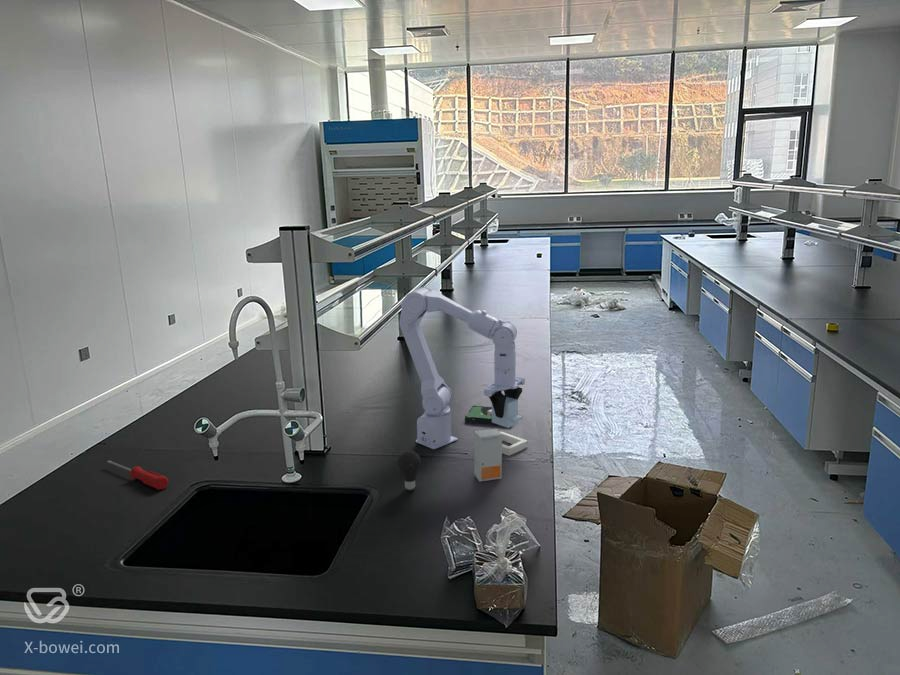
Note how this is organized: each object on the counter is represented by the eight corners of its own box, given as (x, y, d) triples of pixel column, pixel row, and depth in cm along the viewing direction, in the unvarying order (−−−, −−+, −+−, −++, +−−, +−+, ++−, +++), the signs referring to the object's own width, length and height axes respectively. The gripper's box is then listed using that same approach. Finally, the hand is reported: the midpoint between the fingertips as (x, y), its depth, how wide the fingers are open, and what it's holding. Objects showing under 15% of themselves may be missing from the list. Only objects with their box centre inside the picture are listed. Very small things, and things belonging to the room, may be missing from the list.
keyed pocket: (508, 455, 171) (508, 448, 171) (482, 445, 178) (482, 439, 178) (527, 447, 177) (527, 440, 176) (501, 437, 184) (501, 431, 183)
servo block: (513, 429, 171) (513, 403, 169) (486, 420, 178) (486, 394, 176) (523, 425, 174) (523, 399, 172) (496, 416, 181) (496, 391, 179)
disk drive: (518, 417, 201) (472, 412, 205) (518, 408, 200) (472, 404, 204) (511, 429, 191) (464, 424, 195) (511, 420, 191) (464, 415, 195)
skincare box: (479, 482, 157) (479, 437, 154) (474, 475, 161) (473, 430, 158) (502, 479, 158) (502, 434, 155) (496, 471, 162) (496, 427, 159)
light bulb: (393, 489, 154) (392, 451, 151) (411, 482, 158) (409, 444, 155) (409, 497, 150) (407, 458, 148) (426, 489, 154) (425, 451, 151)
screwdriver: (115, 464, 171) (113, 452, 171) (170, 487, 158) (168, 474, 157) (102, 469, 169) (100, 457, 168) (157, 493, 155) (155, 479, 154)
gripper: (497, 376, 164) (498, 425, 168) (533, 364, 174) (532, 411, 177) (478, 371, 169) (478, 419, 173) (513, 359, 179) (513, 405, 182)
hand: (504, 414), depth 175 cm, fingers closed on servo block, 4 cm apart
